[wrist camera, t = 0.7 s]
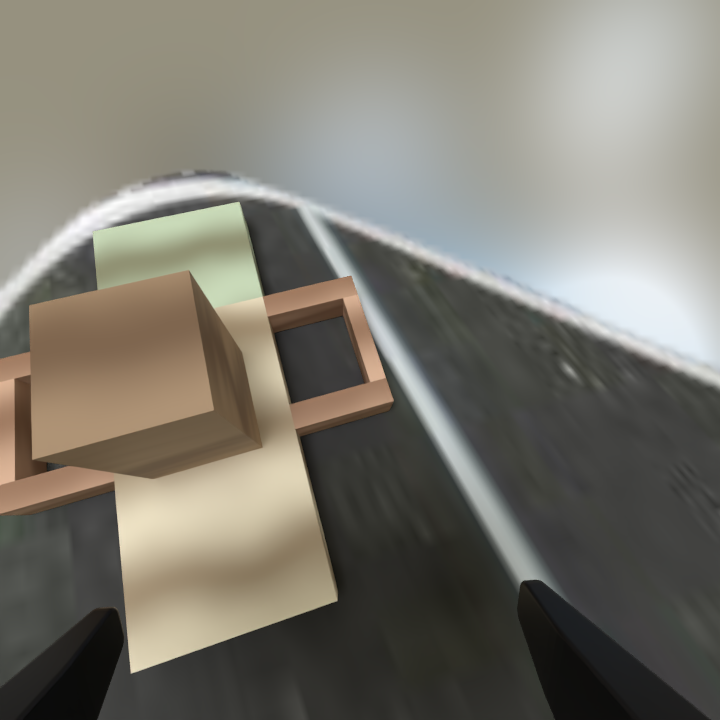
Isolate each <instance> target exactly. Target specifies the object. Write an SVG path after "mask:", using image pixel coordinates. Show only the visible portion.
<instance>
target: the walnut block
mask: <svg viewBox="0 0 720 720" xmlns="http://www.w3.org/2000/svg"><path fill="white" fill-rule="evenodd" d="M29 317H30V370H31V422H32V460H37V461H43V462H49V463H55V464H61V465H68V466H74V467H80V468H86V469H93V470H99V471H105V472H111V473H117V474H124V475H130V476H136V477H142V478H149V479H156V478H160V477H163V476H166V475H170V474H173V473H177V472H180V471H184V470H187V469H191V468H194V467H197V466H201V465H204V464H208V463H211V462H215V461H218V460H222V459H225V458H228V457H232V456H235V455H239V454H242V453H246V452H249V451H253V450H256V449H259V448H263V447H262V442H261V438H260V433H259V428H258V424H257V419H256V414H255V410H254V405H253V401H252V396H251V391H250V387H249V382H248V377H247V373H246V368H245V363H244V359H243V354H242V351H241V350H240V348H239V347H238V345H237V344H236V342H235V341H234V339H233V338H232V336H231V334H230V333H229V331H228V330H227V328H226V327H225V325H224V324H223V322H222V320H221V319H220V317H219V316H218V314H217V313H216V311H215V310H214V308H213V306H212V305H211V303H210V302H209V300H208V299H207V297H206V296H205V294H204V293H203V291H202V289H201V288H200V286H199V285H198V283H197V282H196V280H195V279H194V277H193V275H192V274H191V272H190V271H189V270H186V271H182V272H177V273H173V274H168V275H164V276H159V277H155V278H150V279H146V280H141V281H137V282H132V283H128V284H123V285H119V286H114V287H110V288H105V289H101V290H96V291H92V292H87V293H83V294H78V295H74V296H69V297H65V298H60V299H56V300H51V301H47V302H42V303H38V304H33V305H29Z"/></svg>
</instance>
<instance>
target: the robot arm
mask: <svg viewBox="0 0 720 720" xmlns="http://www.w3.org/2000/svg"><path fill="white" fill-rule="evenodd" d="M517 610H518V617H519V621H520V624H521V627H522V630H523V633H524V636H525V638H526V641H527V644H528V647H529V650H530V653H531V656H532V659H533V662H534V665H535V668H536V671H537V674H538V677H539V680H540V683H541V685H542V688H543V691H544V694H545V696H546V699H547V701H548V704H549V706H550V709H551V711H552V713H553V715H554V718H555V720H711V719H710V718H708V717H707V716H706V715H705V714H704V713H702V712H701V711H700V710H699V709H697V708H696V707H695V706H694V705H693V704H691V703H690V702H689V701H688V700H686V699H685V698H684V697H683V696H682V695H680V694H679V693H678V692H677V691H675V690H674V689H673V688H672V687H671V686H669V685H668V684H667V683H666V682H664V681H663V680H662V679H661V678H660V677H658V676H657V675H656V674H655V673H653V672H652V671H651V670H650V669H648V668H647V667H646V666H645V665H644V664H642V663H641V662H640V661H639V660H637V659H636V658H635V657H634V656H633V655H631V654H630V653H629V652H628V651H626V650H625V649H624V648H623V647H622V646H620V645H619V644H618V643H617V642H615V641H614V640H613V639H612V638H611V637H609V636H608V635H607V634H606V633H604V632H603V631H602V630H601V629H600V628H598V627H597V626H596V625H595V624H593V623H592V622H591V621H590V620H589V619H587V618H586V617H585V616H584V615H582V614H581V613H580V612H579V611H578V610H576V609H575V608H574V607H573V606H571V605H570V604H569V603H568V602H566V601H565V600H564V599H563V598H562V597H560V596H559V595H558V594H557V593H555V592H554V591H553V590H552V589H551V588H549V587H548V586H547V585H546V584H544V583H543V582H542V581H540V580H527V581H523V582H522V583H521V585H520V592H519V599H518V607H517ZM123 643H124V631H123V628H122V624H121V620H120V616H119V612H118V609H117V608H115V607H102V608H96V609H94V610H93V611H91V612H90V613H89V614H88V615H86V616H85V617H84V618H83V619H82V620H80V621H79V622H78V623H77V624H76V625H74V626H73V627H72V628H71V629H70V630H68V631H67V632H66V633H65V634H64V635H62V636H61V637H60V638H59V639H58V640H56V641H55V642H54V643H53V644H52V645H50V646H49V647H48V648H47V649H46V650H44V651H43V652H42V653H41V654H40V655H38V656H37V657H36V658H35V659H34V660H32V661H31V662H30V663H29V664H28V665H26V666H25V667H24V668H23V669H22V670H20V671H19V672H18V673H17V674H16V675H14V676H13V677H12V678H11V679H10V680H8V681H7V682H6V683H5V684H4V685H2V686H1V687H0V720H97V719H98V716H99V713H100V710H101V707H102V705H103V702H104V699H105V696H106V693H107V690H108V688H109V685H110V682H111V679H112V676H113V673H114V670H115V668H116V665H117V662H118V659H119V656H120V653H121V650H122V647H123Z"/></svg>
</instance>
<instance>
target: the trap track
mask: <svg viewBox="0 0 720 720" xmlns="http://www.w3.org/2000/svg"><path fill="white" fill-rule="evenodd" d="M93 240H94V252H95V263H96V275H97V287H98V290H101V289H105V288H110V287H114V286H119V285H123V284H128V283H132V282H137V281H141V280H146V279H150V278H155V277H159V276H164V275H168V274H173V273H177V272H182V271H186V270H189V271H190V272H191V274H192V275H193V277H194V279H195V280H196V282H197V283H198V285H199V286H200V288H201V289H202V291H203V293H204V294H205V296H206V297H207V299H208V300H209V302H210V303H211V305H212V306H213V308H214V310H215V311H216V313H217V314H218V316H219V317H220V319H221V320H222V322H223V324H224V325H225V327H226V328H227V330H228V331H229V333H230V334H231V336H232V338H233V339H234V341H235V342H236V344H237V345H238V347H239V348H240V350H241V351H242V354H243V359H244V363H245V368H246V373H247V377H248V382H249V387H250V391H251V396H252V401H253V405H254V410H255V414H256V419H257V424H258V428H259V433H260V438H261V442H262V447H263V448H259V449H256V450H253V451H249V452H246V453H242V454H239V455H235V456H232V457H228V458H225V459H222V460H218V461H215V462H211V463H208V464H204V465H201V466H197V467H194V468H191V469H187V470H184V471H180V472H177V473H173V474H170V475H166V476H163V477H160V478H156V479H149V478H142V477H136V476H130V475H124V474H117V473H111V472H105V471H99V470H93V469H86V468H80V467H74V466H67V467H63V468H60V469H56V470H53V471H49V472H47V462H43V461H37V460H32V422H31V370H30V352H28V353H23V354H19V355H15V356H11V357H7V358H2V359H0V515H31V514H35V513H38V512H42V511H45V510H49V509H52V508H55V507H59V506H62V505H66V504H69V503H73V502H76V501H80V500H83V499H86V498H90V497H93V496H97V495H100V494H104V493H107V492H111V491H114V490H115V495H116V506H117V518H118V529H119V541H120V553H121V564H122V576H123V587H124V599H125V610H126V622H127V634H128V645H129V657H130V668H131V673H134V672H137V671H140V670H143V669H146V668H148V667H151V666H154V665H157V664H160V663H163V662H165V661H168V660H171V659H174V658H177V657H180V656H182V655H185V654H188V653H191V652H194V651H197V650H199V649H202V648H205V647H208V646H211V645H214V644H216V643H219V642H222V641H225V640H228V639H231V638H233V637H236V636H239V635H242V634H245V633H248V632H251V631H253V630H256V629H259V628H262V627H265V626H268V625H270V624H273V623H276V622H279V621H282V620H285V619H287V618H290V617H293V616H296V615H299V614H302V613H304V612H307V611H310V610H313V609H316V608H319V607H321V606H324V605H327V604H330V603H333V602H336V601H337V600H338V589H337V585H336V581H335V577H334V573H333V569H332V565H331V561H330V557H329V553H328V549H327V545H326V541H325V537H324V533H323V529H322V525H321V521H320V517H319V512H318V508H317V504H316V500H315V496H314V492H313V488H312V484H311V480H310V476H309V472H308V468H307V464H306V460H305V456H304V452H303V448H302V444H301V440H300V436H304V435H307V434H311V433H314V432H317V431H321V430H324V429H328V428H331V427H335V426H338V425H342V424H345V423H348V422H352V421H355V420H359V419H362V418H366V417H369V416H373V415H376V414H379V413H383V412H386V411H389V410H390V408H391V406H392V403H393V401H394V400H393V397H392V394H391V391H390V388H389V386H388V383H387V380H386V377H385V374H384V371H383V368H382V365H381V362H380V359H379V356H378V353H377V350H376V347H375V344H374V341H373V338H372V335H371V332H370V329H369V327H368V324H367V321H366V318H365V315H364V312H363V309H362V306H361V303H360V300H359V297H358V294H357V291H356V288H355V285H354V282H353V279H352V276H347V277H343V278H339V279H335V280H330V281H326V282H322V283H318V284H314V285H309V286H305V287H301V288H297V289H293V290H288V291H284V292H280V293H276V294H272V295H267V296H265V295H264V291H263V287H262V283H261V279H260V275H259V271H258V267H257V263H256V259H255V255H254V251H253V247H252V243H251V239H250V235H249V230H248V226H247V223H246V220H245V217H244V214H243V211H242V208H241V205H240V203H239V202H236V203H231V204H226V205H221V206H217V207H212V208H207V209H202V210H197V211H192V212H187V213H182V214H177V215H172V216H167V217H162V218H157V219H153V220H148V221H143V222H138V223H133V224H128V225H123V226H118V227H113V228H108V229H103V230H98V231H94V232H93ZM339 316H343V317H344V320H345V323H346V326H347V330H348V333H349V336H350V339H351V342H352V345H353V348H354V352H355V355H356V358H357V361H358V364H359V367H360V370H361V374H362V377H363V380H364V383H365V384H362V385H358V386H355V387H351V388H348V389H344V390H340V391H337V392H333V393H330V394H326V395H322V396H319V397H315V398H312V399H308V400H304V401H301V402H297V403H294V404H291V400H290V396H289V392H288V388H287V384H286V380H285V376H284V371H283V367H282V363H281V359H280V355H279V351H278V347H277V343H276V339H275V335H274V333H276V332H280V331H284V330H287V329H291V328H295V327H299V326H303V325H307V324H311V323H315V322H319V321H323V320H327V319H331V318H335V317H339Z"/></svg>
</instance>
